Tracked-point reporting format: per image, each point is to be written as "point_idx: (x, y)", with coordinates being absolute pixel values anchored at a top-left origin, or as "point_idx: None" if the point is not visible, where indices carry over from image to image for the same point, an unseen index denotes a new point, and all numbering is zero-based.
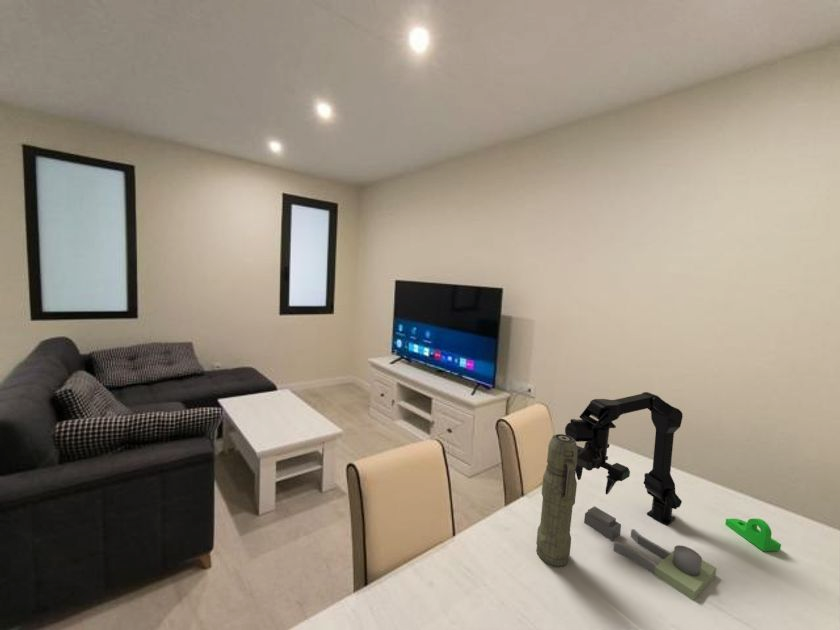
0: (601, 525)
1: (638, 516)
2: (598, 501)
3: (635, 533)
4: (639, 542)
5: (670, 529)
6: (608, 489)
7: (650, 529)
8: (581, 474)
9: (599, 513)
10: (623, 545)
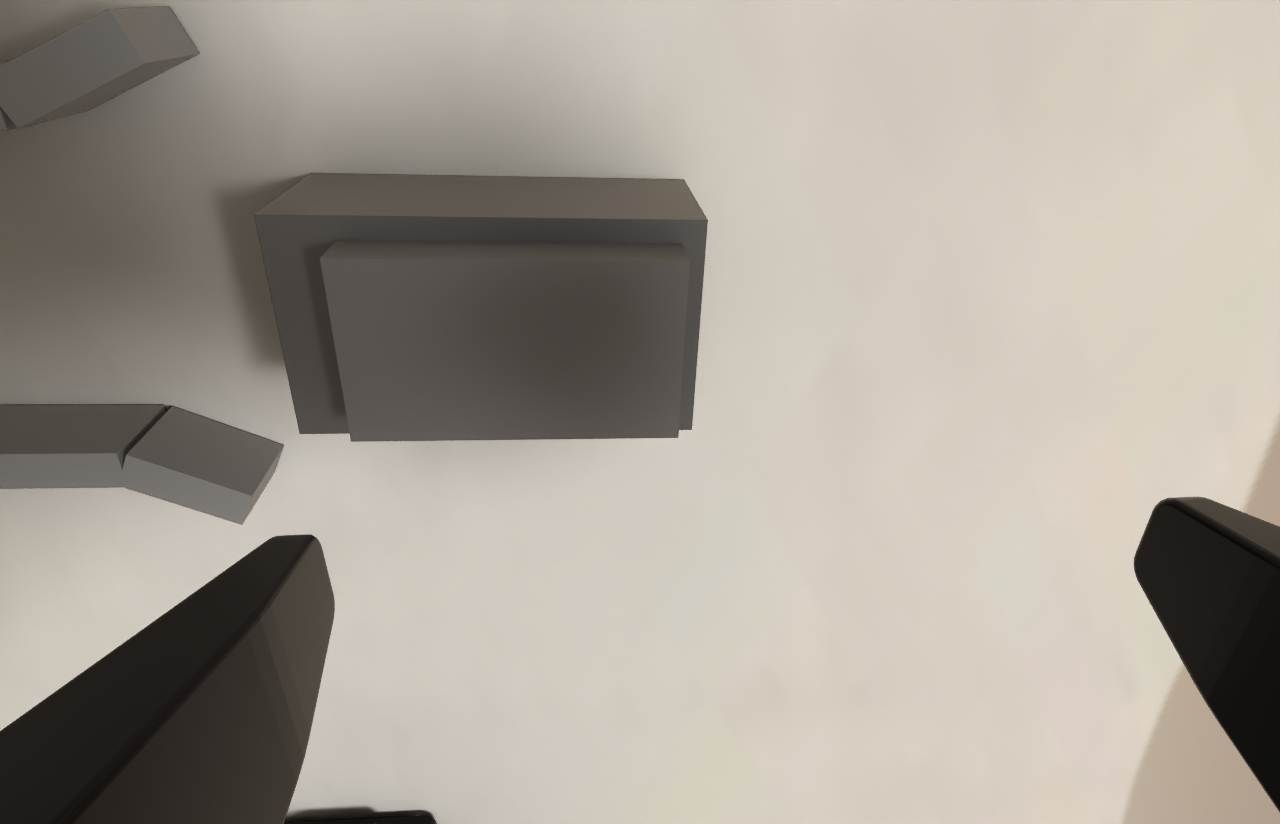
0: (438, 204)
1: (454, 750)
2: (778, 658)
3: (184, 470)
4: (143, 418)
5: None
6: (100, 670)
7: None
8: (1228, 705)
9: (539, 341)
10: (22, 83)
